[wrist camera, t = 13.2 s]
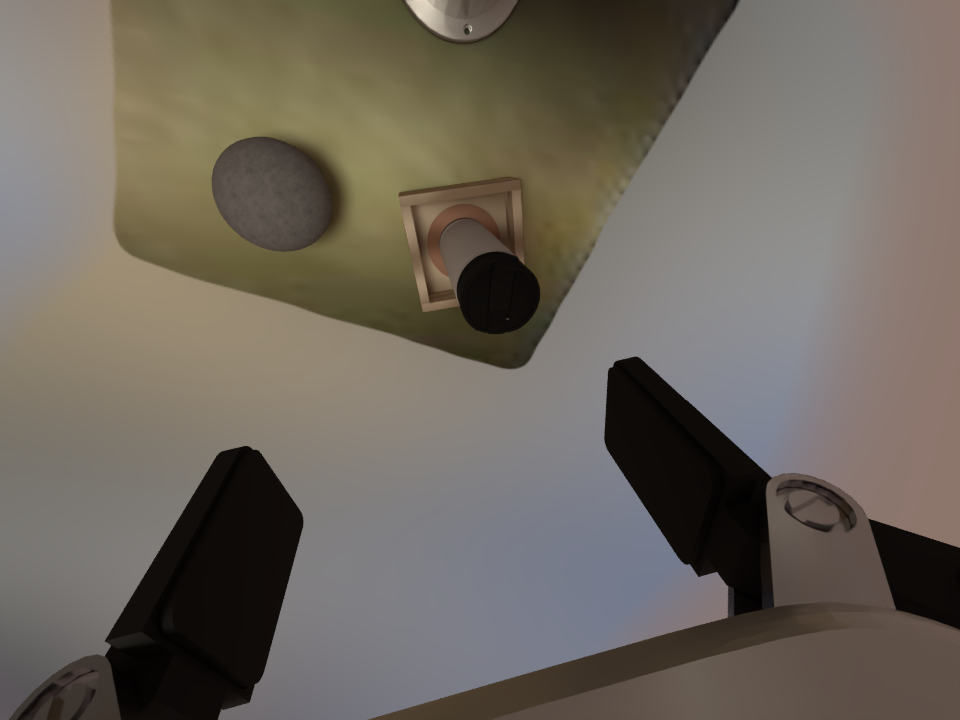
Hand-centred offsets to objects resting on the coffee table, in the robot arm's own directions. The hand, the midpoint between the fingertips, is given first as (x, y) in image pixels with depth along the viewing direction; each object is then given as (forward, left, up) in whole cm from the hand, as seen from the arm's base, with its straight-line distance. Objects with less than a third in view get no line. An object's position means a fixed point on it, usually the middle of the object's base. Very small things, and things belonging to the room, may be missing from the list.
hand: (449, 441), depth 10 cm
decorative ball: (-4, -13, -39) cm, 41 cm away
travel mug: (+3, +5, -37) cm, 38 cm away
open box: (+4, +5, -38) cm, 39 cm away
